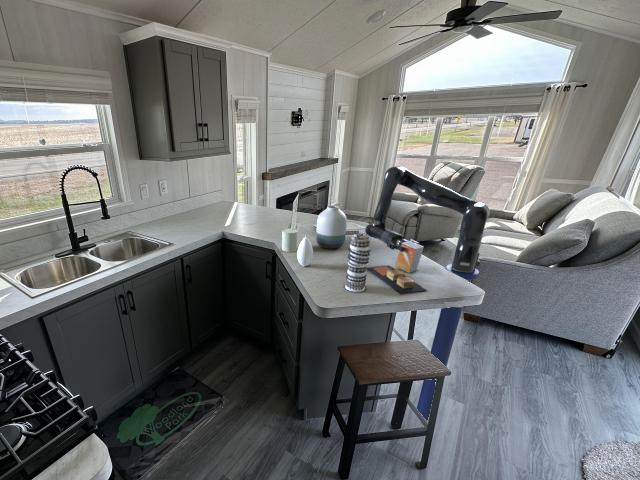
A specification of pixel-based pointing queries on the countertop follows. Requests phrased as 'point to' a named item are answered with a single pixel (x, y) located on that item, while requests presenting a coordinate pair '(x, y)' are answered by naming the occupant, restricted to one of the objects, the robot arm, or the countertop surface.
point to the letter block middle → (394, 274)
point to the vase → (331, 228)
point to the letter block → (405, 282)
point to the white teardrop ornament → (305, 252)
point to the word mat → (382, 274)
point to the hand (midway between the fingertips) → (411, 249)
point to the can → (289, 240)
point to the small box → (409, 256)
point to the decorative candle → (358, 262)
